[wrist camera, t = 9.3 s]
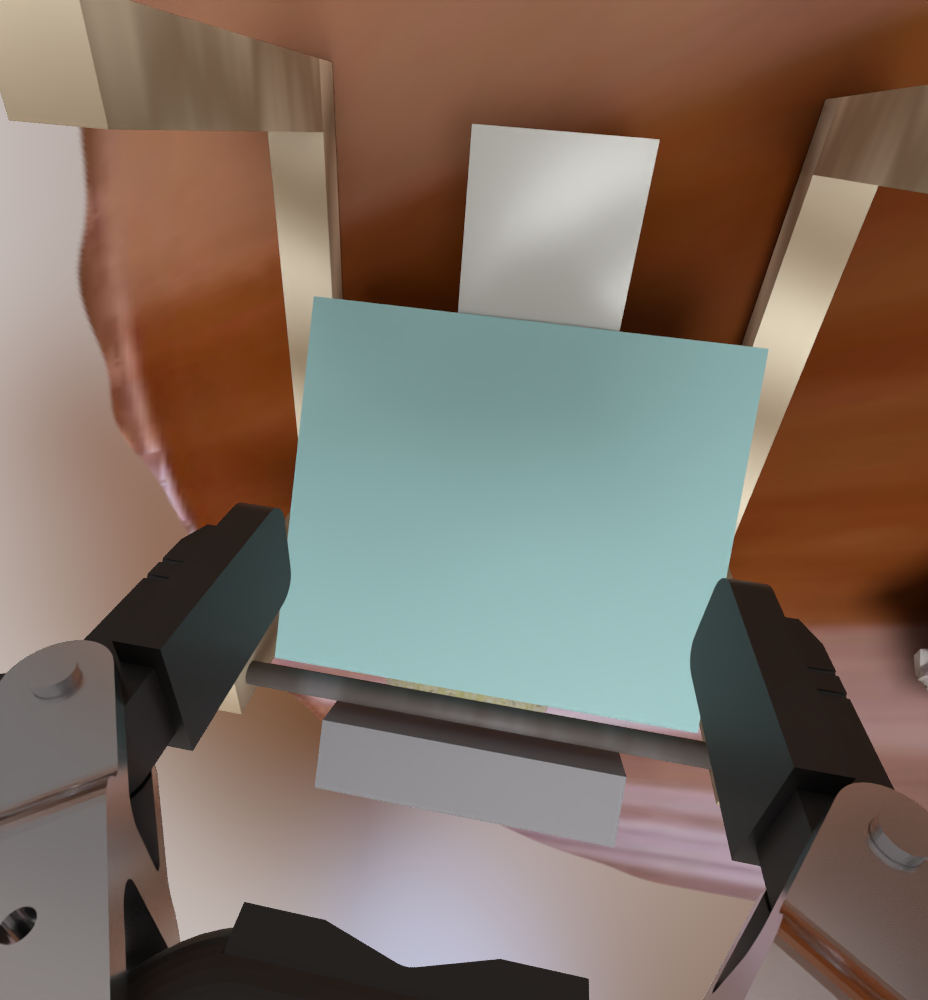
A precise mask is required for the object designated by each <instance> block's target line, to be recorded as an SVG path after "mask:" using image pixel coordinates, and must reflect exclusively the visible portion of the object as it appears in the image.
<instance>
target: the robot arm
mask: <svg viewBox="0 0 928 1000" xmlns="http://www.w3.org/2000/svg"><path fill="white" fill-rule="evenodd" d="M290 582H291V567H290V559H289V550H288V542H287V534H286V526H285V519H284V515H283V512H282V511H281V510H280V509H279V508H273V507H266V506H260V505H253V504H247V503H238V504H236V505H235V506H234V507H233V508H232V509H231V510H230V511H229V512H228V513H227V515H226V516H225V517H224V518H223V519H222V520H221V521H220V522H219V523H218V524H217V525H216V526H214V525H206V526H204V527H202V528H200V529H199V530H197V531H195V532H193V533H191V534H190V535H188V536H186V537H184V538H183V539H181V540H180V541H179V542H178V543H177V544H176V545H175V546H174V547H173V548H172V549H171V550H170V551H169V552H168V553H167V555H165V557H164V558H163V562H159V563H158V564H157V565H156V566H155V567H154V568H153V569H152V570H151V571H150V572H149V573H148V576H147V578H143V579H142V580H141V581H140V582H139V583H138V584H137V585H136V587H135V588H134V589H132V591H131V592H130V593H129V594H128V595H127V596H126V597H125V598H124V599H123V600H122V601H121V602H120V603H119V604H118V605H117V606H116V607H115V608H114V609H113V610H112V611H111V612H110V613H109V614H108V615H107V616H106V617H105V618H104V619H103V620H102V622H101V623H100V624H99V625H98V626H97V627H96V628H95V629H94V630H93V631H92V632H91V633H90V634H89V635H88V636H87V637H86V638H85V639H84V640H74V641H66V642H62V643H58V644H54V645H51V646H48V647H46V648H43V649H41V650H39V651H36V652H35V653H33V654H31V655H29V656H27V657H26V658H24V659H23V660H21V661H20V662H18V663H17V664H16V665H15V666H13V667H12V668H11V669H10V670H9V671H8V672H7V673H5V674H0V1000H589V979H587V978H583V977H578V976H574V975H570V974H564V973H561V972H556V971H552V970H547V969H543V968H538V967H533V966H529V965H525V964H520V963H516V962H511V961H506V960H502V959H496V960H486V961H477V962H466V963H456V964H446V965H436V966H426V967H416V968H415V967H414V968H413V967H410V968H409V967H405V966H402V965H400V964H397V963H396V962H394V961H392V960H390V959H389V958H387V957H386V956H384V955H382V954H381V953H379V952H377V951H376V950H374V949H372V948H371V947H369V946H367V945H366V944H364V943H362V942H361V941H359V940H357V939H356V938H354V937H352V936H351V935H349V934H348V933H346V932H344V931H343V930H341V929H339V928H337V927H336V926H334V925H333V924H331V923H329V922H328V921H326V920H323V919H318V918H314V917H308V916H305V915H300V914H296V913H291V912H287V911H282V910H278V909H273V908H269V907H264V906H260V905H255V904H251V903H246V902H244V904H243V906H242V909H241V911H240V913H239V916H238V918H237V920H236V923H235V925H234V927H233V928H227V929H221V930H217V931H213V932H209V933H204V934H201V935H198V936H195V937H193V938H190V939H187V940H185V941H182V942H180V937H179V930H178V925H177V920H176V915H175V911H174V907H173V903H172V899H171V895H170V890H169V885H168V877H167V867H166V857H165V847H164V838H163V827H162V816H161V806H160V796H159V786H158V775H157V770H156V766H155V763H156V762H157V760H158V759H159V757H160V756H161V754H162V753H163V751H164V750H165V748H166V747H167V746H171V747H176V748H181V749H186V750H191V751H193V750H194V748H195V746H196V745H197V743H198V742H199V740H200V738H201V737H202V735H203V733H204V732H205V730H206V729H207V727H208V725H209V724H210V722H211V720H212V719H213V717H214V715H215V714H216V712H217V711H218V709H219V707H220V706H221V704H222V703H223V701H224V699H225V698H226V696H227V694H228V693H229V691H230V690H231V688H232V686H233V685H234V683H235V682H236V680H237V678H238V677H239V675H240V673H241V672H242V670H243V669H244V667H245V665H246V664H247V662H248V660H249V659H250V657H251V656H252V654H253V652H254V651H255V649H256V647H257V646H258V644H259V643H260V641H261V639H262V638H263V636H264V635H265V633H266V631H267V630H268V628H269V626H270V625H271V623H272V622H273V620H274V618H275V617H276V615H277V613H278V612H279V610H280V609H281V607H282V605H283V604H284V602H285V600H286V597H287V595H288V591H289V587H290ZM690 671H691V677H692V681H693V686H694V690H695V695H696V699H697V704H698V708H699V713H700V717H701V722H702V726H703V731H704V736H705V740H706V745H707V749H708V754H709V758H710V763H711V767H712V772H713V776H714V781H715V785H716V790H717V795H718V799H719V804H720V808H721V813H722V817H723V822H724V826H725V831H726V835H727V840H728V844H729V849H730V853H731V858H732V860H733V861H738V862H743V863H748V864H753V865H758V866H761V870H762V874H763V878H764V882H765V886H766V887H765V888H764V890H763V891H762V892H761V894H760V895H759V897H758V899H757V901H756V902H755V904H754V906H753V908H752V910H751V912H750V913H749V915H748V917H747V919H746V921H745V923H744V925H743V926H742V928H741V930H740V932H739V934H738V936H737V938H736V939H735V941H734V943H733V945H732V947H731V949H730V950H729V952H728V954H727V956H726V958H725V960H724V962H723V964H722V965H721V967H720V969H719V971H718V973H717V975H716V977H715V978H714V980H713V982H712V984H711V986H710V987H709V989H708V991H707V993H706V995H705V997H704V999H703V1000H928V811H927V810H926V809H925V808H923V807H922V806H921V805H919V804H918V803H916V802H915V801H914V800H912V799H910V798H909V797H907V796H905V795H903V794H902V793H899V792H897V791H895V790H894V788H893V786H892V784H891V782H890V780H889V778H888V776H887V774H886V772H885V770H884V768H883V766H882V764H881V762H880V760H879V758H878V756H877V754H876V752H875V750H874V748H873V745H872V743H871V741H870V739H869V737H868V735H867V733H866V731H865V729H864V727H863V725H862V723H861V721H860V719H859V717H858V715H857V713H856V711H855V709H854V707H853V705H852V703H851V701H850V699H847V698H846V694H847V693H846V691H845V689H844V687H843V685H842V683H841V680H840V678H839V676H836V675H835V672H836V670H835V668H834V666H833V664H832V662H831V660H830V658H829V656H828V654H827V652H826V650H825V648H824V646H823V644H822V643H821V642H820V641H819V640H818V639H817V638H816V637H815V636H814V635H813V634H812V633H811V632H810V631H809V630H808V629H807V628H806V626H805V625H804V624H803V623H802V622H801V621H800V620H799V619H794V618H787V617H785V616H784V614H783V611H782V609H781V607H780V605H779V602H778V600H777V598H776V596H775V593H774V591H773V589H772V588H771V587H770V586H769V585H767V584H760V583H754V582H747V581H741V580H734V579H728V578H721V579H720V580H719V581H718V582H717V584H716V586H715V588H714V590H713V593H712V595H711V597H710V600H709V602H708V605H707V607H706V610H705V612H704V614H703V617H702V619H701V622H700V624H699V626H698V629H697V631H696V634H695V636H694V639H693V642H692V647H691V653H690Z"/></svg>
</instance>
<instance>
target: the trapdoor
mask: <svg viewBox="0 0 928 1000" xmlns="http://www.w3.org/2000/svg"><path fill="white" fill-rule="evenodd" d="M768 350H769V349H766V348H757V347H749V346H740V345H731V344H723V343H714V342H706V341H697V340H688V339H680V338H671V337H662V336H654V335H645V334H636V333H628V332H619V331H610V330H602V329H593V328H584V327H576V326H567V325H558V324H550V323H541V322H533V321H524V320H515V319H507V318H498V317H489V316H481V315H472V314H463V313H455V312H446V311H437V310H429V309H420V308H411V307H403V306H394V305H385V304H377V303H368V302H359V301H351V300H342V299H334V298H325V297H316V296H314V299H313V308H312V318H311V327H310V336H309V345H308V355H307V364H306V373H305V382H304V392H303V401H302V410H301V419H300V429H299V438H298V447H297V456H296V466H295V475H294V484H293V493H292V503H291V512H290V521H289V530H288V540H287V542H288V550H289V559H290V567H291V582H290V587H289V591H288V595H287V597H286V600H285V602H284V604H283V605H282V607H281V609H280V614H279V623H278V632H277V641H276V651H275V658H280V659H286V660H291V661H297V662H302V663H308V664H313V665H319V666H325V667H330V668H336V669H341V670H347V671H353V672H358V673H364V674H369V675H375V676H380V677H386V678H392V679H397V680H403V681H408V682H414V683H420V684H425V685H431V686H436V687H442V688H447V689H453V690H459V691H464V692H470V693H475V694H481V695H487V696H492V697H498V698H503V699H509V700H514V701H520V702H526V703H531V704H537V705H542V706H548V707H554V708H559V709H565V710H570V711H576V712H581V713H587V714H593V715H598V716H604V717H609V718H615V719H621V720H626V721H632V722H637V723H643V724H648V725H654V726H660V727H665V728H671V729H676V730H682V731H688V732H693V733H698V729H699V723H700V718H701V717H700V713H699V708H698V704H697V699H696V695H695V690H694V686H693V681H692V677H691V671H690V653H691V647H692V642H693V639H694V636H695V634H696V631H697V629H698V626H699V624H700V622H701V619H702V617H703V614H704V612H705V610H706V607H707V605H708V602H709V600H710V597H711V595H712V593H713V590H714V588H715V586H716V584H717V582H718V581H719V580H720V579H721V578H726V577H727V572H728V566H729V561H730V556H731V550H732V545H733V539H734V534H735V529H736V523H737V518H738V512H739V507H740V502H741V496H742V491H743V485H744V480H745V475H746V469H747V464H748V458H749V453H750V448H751V442H752V437H753V431H754V426H755V421H756V415H757V410H758V404H759V399H760V393H761V388H762V383H763V377H764V372H765V366H766V361H767V356H768ZM625 782H626V774H625V771H624V768H623V765H622V761H621V758H620V755H619V752H613V751H608V750H602V749H597V748H592V747H586V746H581V745H575V744H570V743H564V742H559V741H554V740H548V739H543V738H537V737H532V736H527V735H521V734H516V733H510V732H505V731H499V730H494V729H489V728H483V727H478V726H472V725H467V724H462V723H456V722H451V721H445V720H440V719H434V718H429V717H424V716H418V715H413V714H407V713H402V712H397V711H391V710H386V709H380V708H375V707H369V706H364V705H359V704H353V703H348V702H342V701H337V702H336V703H335V705H334V706H333V707H332V708H331V710H330V711H329V712H328V714H327V715H326V716H325V718H324V719H323V722H322V731H321V739H320V748H319V756H318V765H317V774H316V782H315V788H320V789H325V790H330V791H335V792H340V793H345V794H350V795H355V796H361V797H365V798H371V799H375V800H380V801H385V802H390V803H395V804H400V805H405V806H410V807H415V808H420V809H425V810H430V811H435V812H440V813H445V814H450V815H455V816H460V817H465V818H470V819H475V820H480V821H485V822H490V823H495V824H500V825H505V826H510V827H515V828H520V829H525V830H530V831H535V832H540V833H545V834H550V835H555V836H560V837H565V838H570V839H575V840H580V841H585V842H590V843H595V844H600V845H605V846H610V847H614V846H615V840H616V834H617V828H618V823H619V817H620V811H621V805H622V800H623V794H624V788H625Z"/></svg>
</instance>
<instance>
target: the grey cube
mask: <svg viewBox="0 0 928 1000" xmlns="http://www.w3.org/2000/svg"><path fill="white" fill-rule="evenodd" d="M659 141H660V139H648V138H636V137H624V136H612V135H600V134H588V133H576V132H564V131H552V130H540V129H528V128H516V127H504V126H492V125H480V124H472V131H471V145H470V158H469V172H468V185H467V198H466V212H465V225H464V238H463V252H462V265H461V279H460V292H459V305H458V313H463V314H472V315H481V316H489V317H498V318H507V319H515V320H524V321H533V322H541V323H550V324H558V325H567V326H576V327H584V328H593V329H602V330H610V331H620V326H621V322H622V317H623V312H624V307H625V303H626V298H627V293H628V288H629V284H630V279H631V274H632V269H633V265H634V260H635V255H636V250H637V246H638V241H639V236H640V231H641V227H642V222H643V217H644V212H645V208H646V203H647V198H648V193H649V188H650V184H651V179H652V174H653V169H654V165H655V160H656V155H657V150H658V146H659Z"/></svg>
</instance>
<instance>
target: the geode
mask: <svg viewBox="0 0 928 1000" xmlns="http://www.w3.org/2000/svg"><path fill="white" fill-rule="evenodd" d="M914 668H915V675H916V677H917V679H918V680H919V681H920V682H922V683H923V684H925V685H926V686H927V687H926V689H927V690H928V649H920V650H919V651H918V652H917V653H916V654H915V655H914Z"/></svg>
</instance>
